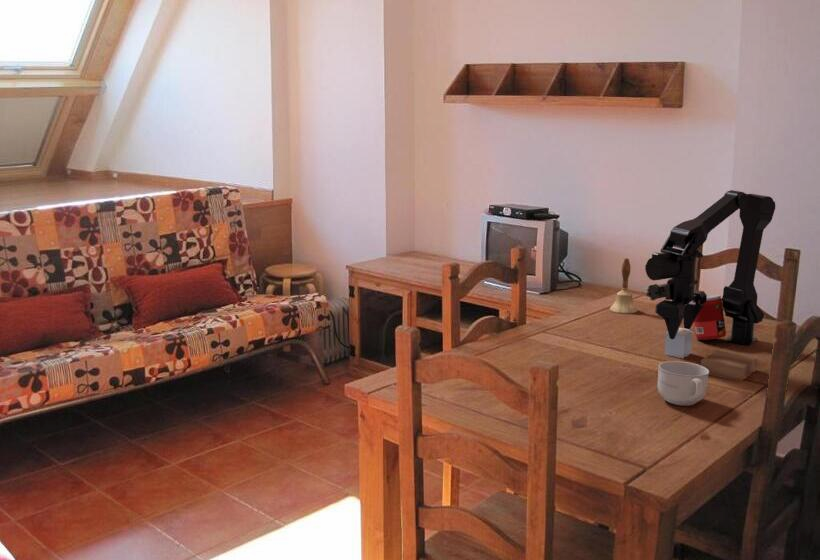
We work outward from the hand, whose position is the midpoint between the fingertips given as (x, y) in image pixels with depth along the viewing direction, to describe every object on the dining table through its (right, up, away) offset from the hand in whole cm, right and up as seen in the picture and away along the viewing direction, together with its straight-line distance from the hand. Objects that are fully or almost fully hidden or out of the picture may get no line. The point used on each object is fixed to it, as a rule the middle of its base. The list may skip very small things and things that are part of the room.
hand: (679, 334), depth 233 cm
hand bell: (-4, +5, +42) cm, 43 cm away
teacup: (-9, -14, -32) cm, 36 cm away
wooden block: (+8, -9, -12) cm, 17 cm away
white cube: (0, -5, +1) cm, 5 cm away
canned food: (+12, -2, +12) cm, 17 cm away
